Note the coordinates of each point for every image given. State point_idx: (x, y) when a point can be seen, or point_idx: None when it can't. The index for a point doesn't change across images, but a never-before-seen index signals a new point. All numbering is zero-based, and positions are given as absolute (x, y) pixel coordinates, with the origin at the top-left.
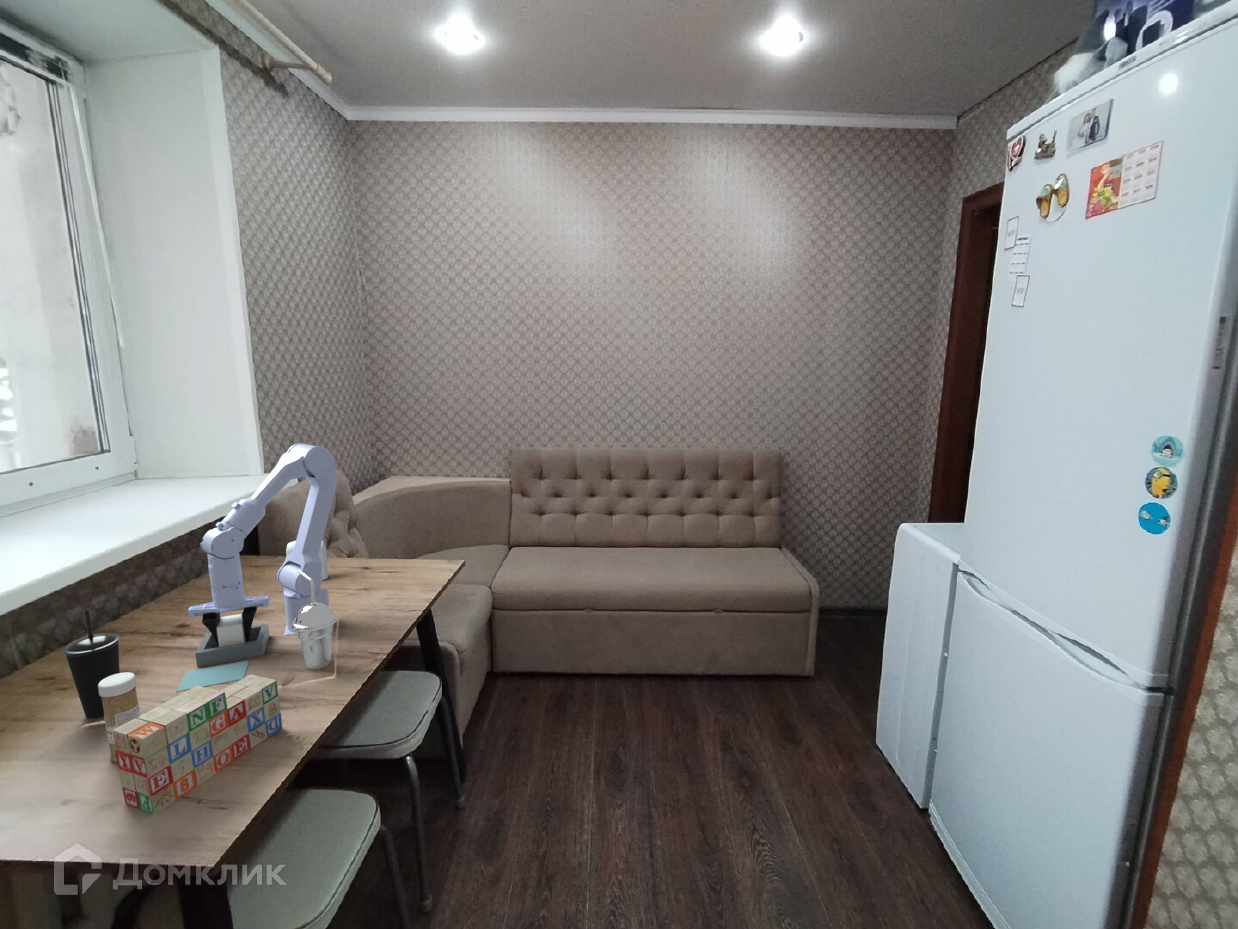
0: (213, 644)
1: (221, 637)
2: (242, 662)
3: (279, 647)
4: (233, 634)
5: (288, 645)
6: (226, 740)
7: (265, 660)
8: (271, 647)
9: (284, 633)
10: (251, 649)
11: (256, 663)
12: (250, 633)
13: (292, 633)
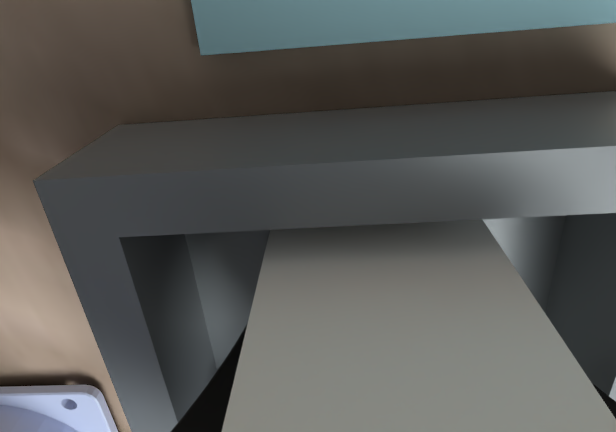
0: None
1: (504, 325)
2: (251, 27)
3: None
4: (355, 340)
5: (16, 270)
6: None
7: (83, 61)
8: None
9: (101, 416)
10: (174, 151)
11: (142, 23)
12: None
13: (45, 401)
